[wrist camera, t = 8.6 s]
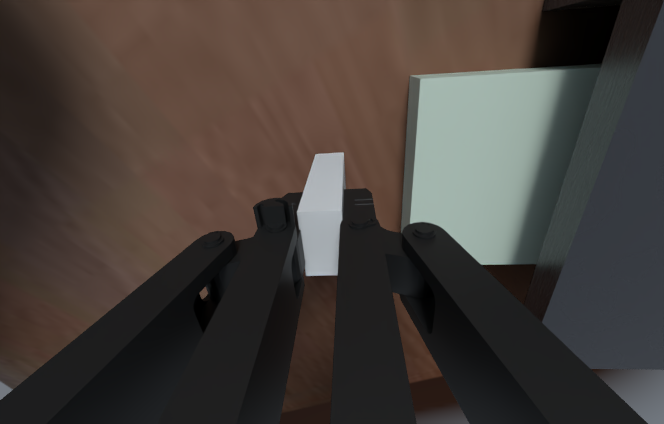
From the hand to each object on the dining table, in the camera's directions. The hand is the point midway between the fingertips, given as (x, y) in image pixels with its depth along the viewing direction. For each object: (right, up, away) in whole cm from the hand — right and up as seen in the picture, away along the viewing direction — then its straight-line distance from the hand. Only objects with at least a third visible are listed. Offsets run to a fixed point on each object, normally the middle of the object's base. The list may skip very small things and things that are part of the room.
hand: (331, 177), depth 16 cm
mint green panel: (+11, +1, +1) cm, 11 cm away
